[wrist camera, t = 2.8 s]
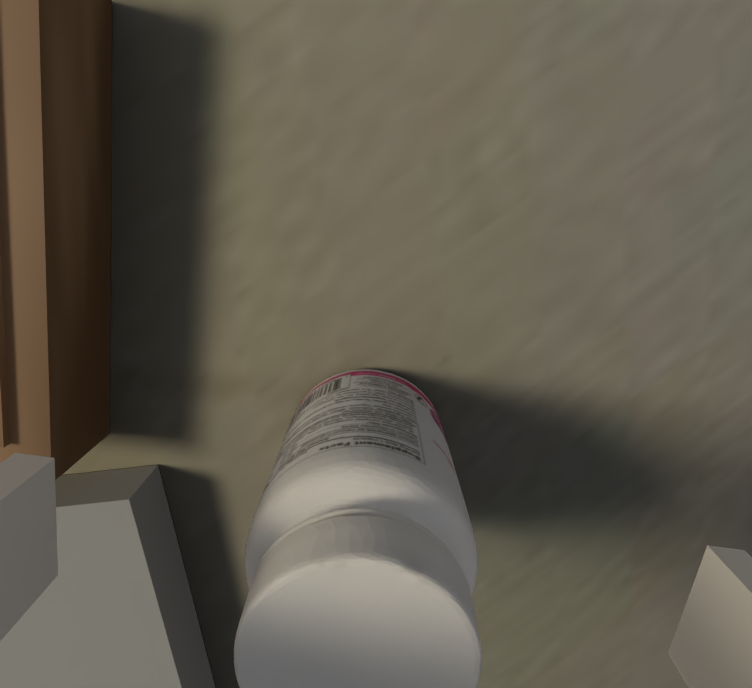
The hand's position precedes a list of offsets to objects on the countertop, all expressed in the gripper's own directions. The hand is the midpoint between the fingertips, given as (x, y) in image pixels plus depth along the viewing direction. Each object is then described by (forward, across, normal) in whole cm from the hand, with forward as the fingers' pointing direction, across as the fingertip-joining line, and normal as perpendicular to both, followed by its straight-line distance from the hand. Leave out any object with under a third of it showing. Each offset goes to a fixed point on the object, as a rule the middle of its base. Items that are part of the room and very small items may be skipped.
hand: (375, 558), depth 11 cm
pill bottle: (+6, 0, 0) cm, 6 cm away
